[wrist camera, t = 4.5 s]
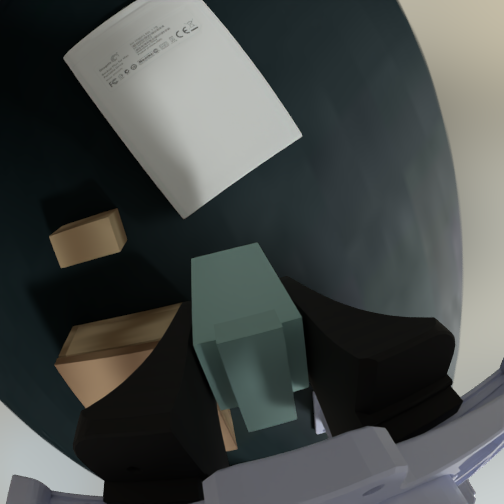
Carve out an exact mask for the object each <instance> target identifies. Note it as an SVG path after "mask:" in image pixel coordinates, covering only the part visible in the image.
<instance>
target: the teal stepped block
mask: <svg viewBox="0 0 504 504" xmlns="http://www.w3.org/2000/svg"><path fill="white" fill-rule="evenodd" d="M191 287H192V330H193V346H194V349H195V351H196V354H197V356H198V359H199V361H200V363H201V366H202V368H203V371H204V373H205V375H206V378H207V380H208V383H209V385H210V387H211V389H212V392H213V394H214V396H215V399H216V401H217V403H218V405H219V407H220V410H226V409H230V408H235V407H239V408H240V411H241V413H242V416H243V418H244V421H245V424H246V426H247V429H248V431H249V432H251V431H256V430H260V429H264V428H267V427H271V426H275V425H279V424H282V423H286V422H289V421H292V420H296V419H297V415H296V408H295V402H294V395H293V392H295V391H298V390H301V389H305V388H308V387H309V380H308V369H307V359H306V350H305V340H304V331H303V322H302V316H301V315H300V313H299V311H298V310H297V308H296V306H295V305H294V303H293V301H292V300H291V298H290V296H289V294H288V293H287V291H286V289H285V288H284V286H283V284H282V283H281V281H280V279H279V278H278V276H277V274H276V273H275V271H274V269H273V268H272V266H271V264H270V263H269V261H268V259H267V258H266V256H265V254H264V253H263V251H262V249H261V248H260V246H259V244H258V243H253V244H249V245H245V246H241V247H236V248H232V249H228V250H224V251H220V252H216V253H212V254H208V255H204V256H200V257H196V258H192V259H191Z"/></svg>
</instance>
